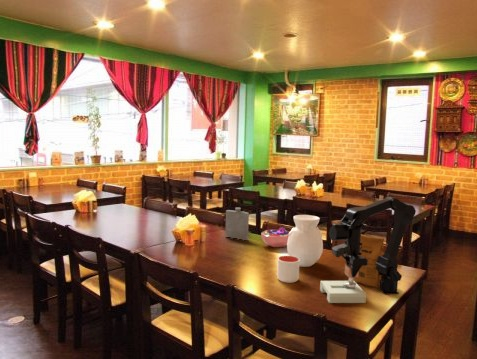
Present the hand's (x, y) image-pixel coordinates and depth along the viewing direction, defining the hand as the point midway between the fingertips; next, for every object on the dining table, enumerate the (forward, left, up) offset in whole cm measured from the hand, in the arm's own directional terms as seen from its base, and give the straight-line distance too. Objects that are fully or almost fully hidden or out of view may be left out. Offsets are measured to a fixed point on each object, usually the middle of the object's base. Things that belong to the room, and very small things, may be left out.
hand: (351, 275), depth 170 cm
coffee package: (-14, -16, -9) cm, 23 cm away
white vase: (+10, -42, -9) cm, 44 cm away
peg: (0, 0, -5) cm, 5 cm away
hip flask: (+42, -92, -9) cm, 102 cm away
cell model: (+19, -75, -9) cm, 78 cm away
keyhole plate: (+4, 0, -9) cm, 10 cm away
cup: (+23, -19, -9) cm, 31 cm away
